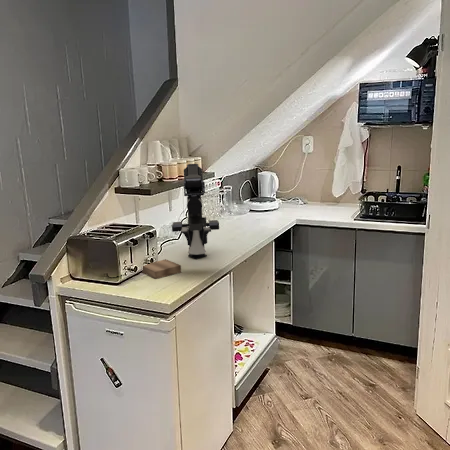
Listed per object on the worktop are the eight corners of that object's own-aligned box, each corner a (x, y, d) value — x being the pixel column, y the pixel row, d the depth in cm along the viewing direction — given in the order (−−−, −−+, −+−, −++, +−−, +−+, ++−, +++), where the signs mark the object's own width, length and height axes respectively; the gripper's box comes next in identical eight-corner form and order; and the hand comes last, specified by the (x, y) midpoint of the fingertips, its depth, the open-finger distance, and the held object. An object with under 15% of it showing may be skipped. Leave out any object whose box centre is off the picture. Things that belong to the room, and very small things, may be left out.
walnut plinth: (166, 265, 197) (165, 259, 197) (181, 272, 188) (180, 265, 187) (141, 272, 190) (140, 265, 189) (155, 279, 181) (155, 271, 180)
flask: (206, 249, 189) (204, 226, 187) (205, 254, 182) (204, 230, 180) (188, 250, 189) (187, 227, 187) (187, 255, 182) (186, 231, 180)
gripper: (170, 213, 173) (172, 253, 176) (219, 211, 174) (220, 250, 177) (171, 208, 184) (174, 245, 187) (217, 206, 185) (219, 243, 188)
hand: (196, 246), depth 185 cm, fingers closed on flask, 5 cm apart
